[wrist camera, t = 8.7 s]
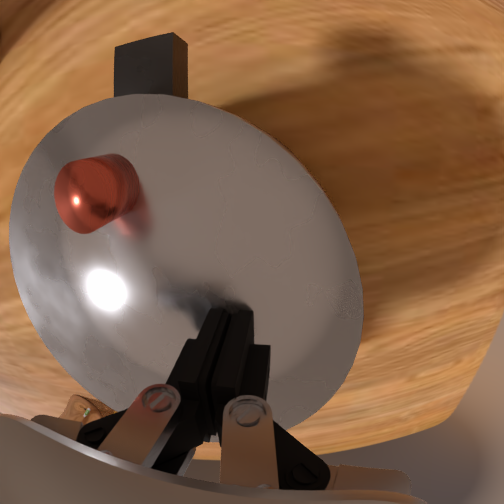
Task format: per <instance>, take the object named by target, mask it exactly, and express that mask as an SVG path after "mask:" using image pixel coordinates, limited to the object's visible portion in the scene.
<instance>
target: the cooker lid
mask: <svg viewBox="0 0 504 504" xmlns="http://www.w3.org/2000/svg"><path fill="white" fill-rule="evenodd" d="M9 245H10V255H11V262H12V267H13V272H14V277H15V281H16V284H17V287H18V291H19V294H20V297H21V299H22V302H23V304H24V307H25V309H26V311H27V314H28V316H29V318H30V320H31V322H32V324H33V325H34V327H35V329H36V331H37V333H38V334H39V336H40V337H41V339H42V340H43V342H44V344H45V345H46V347H47V348H48V349H49V351H50V352H51V353H52V355H53V356H54V357H55V358H56V360H57V361H58V362H59V363H60V364H61V366H62V367H63V368H64V369H65V370H66V371H67V372H68V373H69V374H70V375H71V376H72V377H73V378H74V379H75V380H76V381H77V382H78V383H79V384H80V385H81V386H82V387H83V388H85V389H86V390H87V391H88V392H89V393H91V394H92V395H93V396H94V397H96V398H97V399H98V400H100V401H101V402H103V403H104V404H106V405H107V406H109V407H110V408H112V409H113V410H115V411H117V412H120V411H122V410H125V409H128V408H129V407H130V406H131V404H132V403H133V402H134V400H135V399H136V398H137V396H138V395H139V394H140V393H141V392H142V391H143V390H144V389H145V388H147V387H148V386H151V385H154V384H166V382H167V379H168V377H169V375H170V373H171V371H172V369H173V367H174V365H175V363H176V361H177V359H178V357H179V355H180V352H181V350H182V348H183V346H184V344H185V342H186V341H187V339H189V338H191V339H196V338H197V336H198V333H199V331H200V329H201V327H202V325H203V322H204V320H205V318H206V316H207V314H208V311H209V309H210V308H219V309H225V312H226V313H230V318H232V315H233V313H238V311H239V310H251V311H253V312H254V344H262V345H271V357H270V374H269V384H268V392H267V400H266V401H267V403H268V404H269V405H270V407H271V410H272V417H273V420H274V421H275V422H276V423H278V424H279V425H280V426H281V427H282V428H283V429H285V430H287V429H289V428H291V427H293V426H295V425H297V424H299V423H301V422H302V421H304V420H305V419H307V418H308V417H310V416H311V415H313V414H314V413H316V412H317V411H318V410H319V409H320V408H321V407H322V406H324V405H325V404H326V403H327V402H328V401H329V400H330V399H331V398H332V396H333V395H334V394H335V393H336V391H337V390H338V389H339V388H340V386H341V385H342V384H343V382H344V380H345V378H346V376H347V375H348V373H349V371H350V369H351V367H352V365H353V363H354V360H355V357H356V354H357V351H358V348H359V344H360V340H361V333H362V326H363V318H364V312H363V288H362V284H361V279H360V274H359V269H358V265H357V261H356V257H355V254H354V251H353V249H352V246H351V244H350V241H349V239H348V236H347V234H346V231H345V229H344V226H343V224H342V222H341V219H340V217H339V215H338V213H337V211H336V210H335V208H334V206H333V205H332V203H331V201H330V200H329V198H328V196H327V195H326V193H325V192H324V190H323V188H322V187H321V185H320V184H319V183H318V182H317V181H316V179H315V178H314V177H313V176H312V175H311V173H310V172H309V171H308V170H307V169H306V168H305V166H304V165H303V164H302V163H301V162H300V161H299V160H298V158H296V157H295V156H294V155H293V154H292V153H291V152H290V151H288V150H287V149H286V148H285V147H284V146H283V145H281V144H280V143H279V142H278V141H277V140H275V139H274V138H273V137H272V136H271V135H269V134H268V133H266V132H264V131H263V130H261V129H259V128H258V127H256V126H255V125H253V124H251V123H250V122H248V121H246V120H245V119H243V118H241V117H239V116H237V115H234V114H232V113H230V112H227V111H225V110H222V109H220V108H217V107H215V106H212V105H209V104H206V103H202V102H199V101H195V100H190V99H185V98H180V97H175V96H170V95H163V94H131V95H125V96H119V97H113V98H108V99H105V100H102V101H99V102H96V103H94V104H91V105H89V106H86V107H83V108H82V109H80V110H78V111H77V112H75V113H73V114H72V115H70V116H68V117H67V118H65V119H64V120H62V121H61V122H60V123H59V124H58V125H56V126H55V127H54V128H53V129H52V130H51V131H50V132H49V133H48V134H47V135H46V136H45V137H44V138H43V139H42V141H41V142H40V143H39V144H38V146H37V147H36V148H35V149H34V151H33V152H32V154H31V156H30V157H29V159H28V161H27V163H26V164H25V166H24V168H23V170H22V173H21V175H20V178H19V180H18V183H17V186H16V189H15V193H14V197H13V201H12V206H11V214H10V222H9ZM210 442H219V438H218V433H217V434H216V436H215V435H211V439H210Z"/></svg>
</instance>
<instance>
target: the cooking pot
mask: <svg viewBox="0 0 504 504" xmlns="http://www.w3.org/2000/svg"><path fill="white" fill-rule="evenodd" d="M131 94H163V95H170V96H175V97H180V98H185V99H188V44H187V43H186V42H185V41H184V40H182V39H181V38H180V37H179V36H177V35H176V34H175V33H173V32H172V33H167V34H162V35H158V36H154V37H150V38H146V39H142V40H138V41H134V42H131V43H127V44H124V45H120V46H117V47H115V57H114V97H119V96H125V95H131ZM264 132H265V131H264ZM269 135H270V134H269ZM272 137H273V136H272ZM273 138H274V137H273ZM274 139H275V140H277V139H276V138H274ZM277 141H278V142H279V143H280V144H281V145H283V144H282V143H281V142H280V141H279V140H277ZM283 146H284V147H285V148H286V149H287V150H288V151H290V150H289V149H288V148H287V147H286V146H285V145H283ZM290 152H291V151H290ZM291 153H292V152H291ZM292 154H293V153H292ZM293 155H294V154H293ZM294 156H295V155H294ZM295 157H296V156H295ZM296 158H297V157H296Z"/></svg>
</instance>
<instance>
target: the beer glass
mask: <svg viewBox="0 0 504 504" xmlns="http://www.w3.org/2000/svg"><path fill="white" fill-rule="evenodd" d="M59 418H62V419H67V420H73V421H79V422H82V423H83V425H85V424H87V423H89V422H91V421H94V420H97V419H100V418H102V416H101V413H100V412H99V410H98V409H97V408H96V407H95V406H94V405H93V404H92V403H90V402H89V401H88V400H86V399H84V398H83V397H80V396H78V395H72V396H71V397H70V399H69V401H68V404H67V406H66V408H65V410H64V412H63V413H62V414H61V415H60V417H59Z"/></svg>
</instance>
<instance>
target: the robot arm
mask: <svg viewBox="0 0 504 504" xmlns="http://www.w3.org/2000/svg"><path fill="white" fill-rule="evenodd" d="M270 357H271V345H262V344H254V312H253V311H251V310H239V311H238V313H233V315H232V318H230V313H226V312H225V309H219V308H210V309H209V311H208V314H207V316H206V318H205V320H204V322H203V325H202V327H201V329H200V331H199V333H198V336H197V338H196V339H191V338H189V339H187V341H186V342H185V344H184V346H183V348H182V350H181V352H180V355H179V357H178V359H177V361H176V363H175V365H174V367H173V369H172V371H171V373H170V375H169V377H168V379H167V382H166V384H154V385H151V386H148V387H147V388H145V389H144V390H143V391H142V392H141V393H140V394H139V395H138V396H137V398H136V399H135V400H134V402H133V403H132V404H131V406H130V407H129V408H128V409H125V410H122V411H120V412H117V413H114V414H111V415H109V416H106V417H103V418H100V419H97V420H94V421H91V422H89V423H87V424H85V425H83V423H82V422H79V421H73V420H67V419H62V418H57V417H52V416H47V415H38V416H35V417H33V418H32V419H31V420H28V419H25V418H23V417H19V416H15V415H9V414H0V504H428V503H426V502H425V501H423V500H421V499H419V498H415V497H413V496H410V493H411V480H410V479H409V477H408V476H407V474H405V473H404V472H402V471H398V470H389V469H377V468H365V467H356V466H349V465H341V464H340V465H339V467H338V466H332V465H327V464H326V463H325V462H324V461H323V460H322V459H320V458H319V457H318V456H316V455H315V454H314V453H313V452H311V451H310V450H309V449H308V448H306V447H305V446H304V445H303V444H301V443H300V442H299V441H298V440H296V439H295V438H294V437H293V436H292V435H290V434H289V433H288V432H287V431H286V430H285V429H283V428H282V427H281V426H280V425H279V424H278V423H276V422H275V421H274V420H273V417H272V410H271V407H270V405H269V404H268V403H267V401H266V400H267V392H268V384H269V374H270ZM217 433H218V438H219V443H220V447H221V466H220V467H221V468H220V483H214V482H207V481H202V480H197V479H192V478H187V477H183V475H184V473H185V471H186V469H187V467H188V465H189V463H190V461H191V460H192V458H193V456H194V454H195V451H196V447H197V446H199V445H201V444H203V441H204V442H210V439H211V435H215V436H216V434H217Z"/></svg>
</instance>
